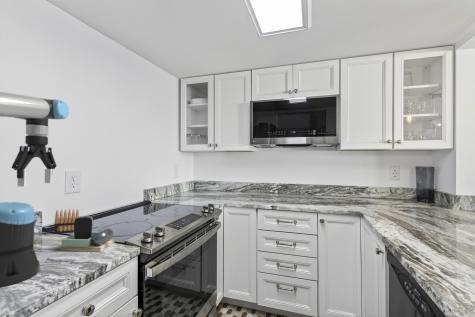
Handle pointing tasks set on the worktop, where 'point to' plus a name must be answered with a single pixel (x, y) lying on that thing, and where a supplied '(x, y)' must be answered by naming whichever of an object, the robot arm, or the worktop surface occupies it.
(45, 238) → the worktop surface
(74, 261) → the worktop surface
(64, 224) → the ammunition clip
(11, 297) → the worktop surface
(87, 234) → the battery charger
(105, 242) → the mint green tray
